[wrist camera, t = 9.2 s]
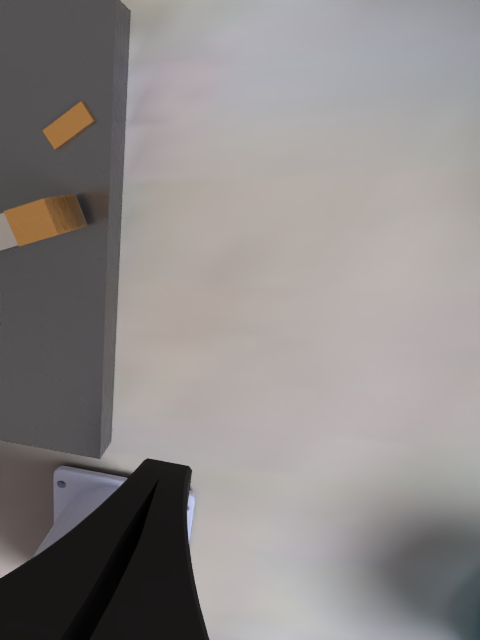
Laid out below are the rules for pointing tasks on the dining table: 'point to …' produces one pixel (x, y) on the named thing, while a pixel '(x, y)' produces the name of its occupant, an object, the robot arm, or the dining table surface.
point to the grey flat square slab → (71, 247)
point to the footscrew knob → (40, 220)
